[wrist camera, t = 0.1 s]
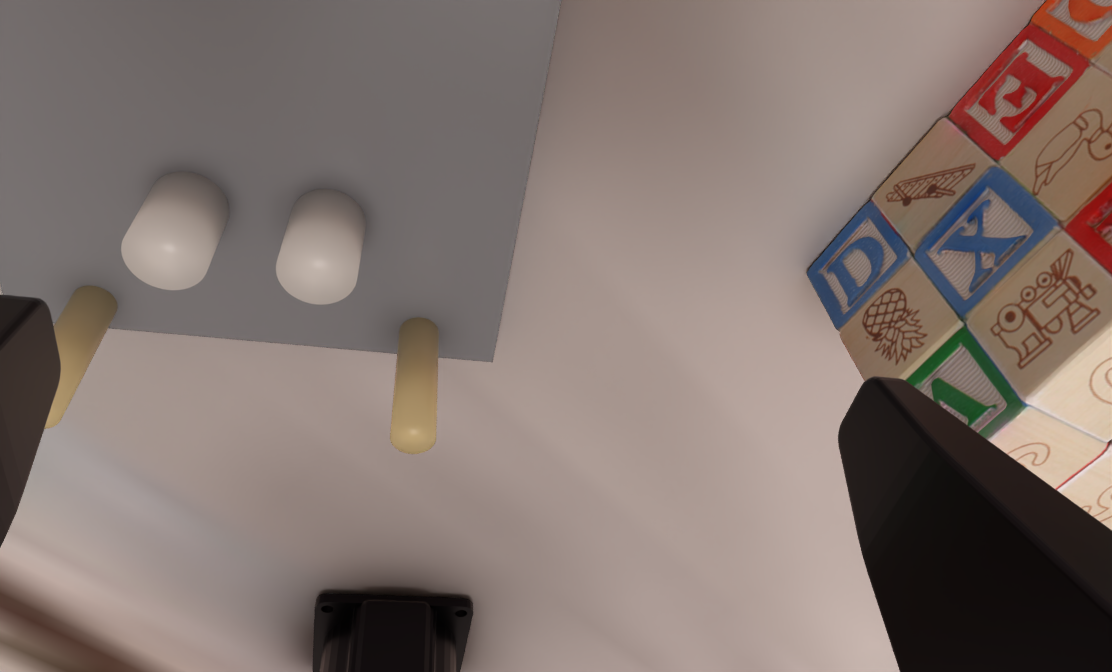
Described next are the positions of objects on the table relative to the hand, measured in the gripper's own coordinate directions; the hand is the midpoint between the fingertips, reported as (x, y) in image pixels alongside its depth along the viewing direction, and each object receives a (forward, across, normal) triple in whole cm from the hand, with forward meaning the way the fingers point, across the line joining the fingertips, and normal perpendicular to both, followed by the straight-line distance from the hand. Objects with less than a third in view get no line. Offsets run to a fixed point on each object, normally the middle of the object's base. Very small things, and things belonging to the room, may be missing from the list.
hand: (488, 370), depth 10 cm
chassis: (+15, +5, +3) cm, 16 cm away
